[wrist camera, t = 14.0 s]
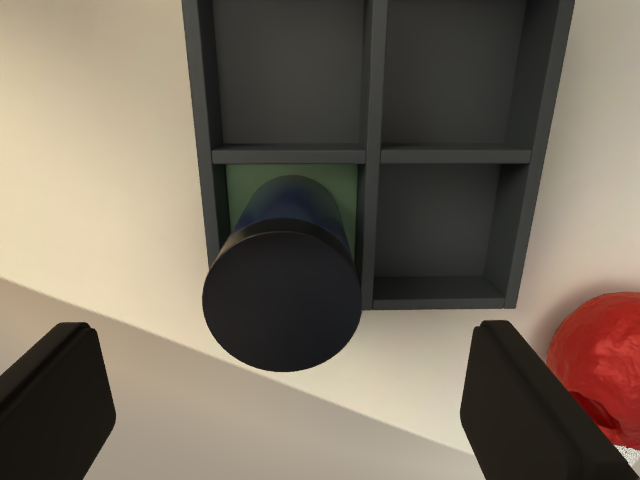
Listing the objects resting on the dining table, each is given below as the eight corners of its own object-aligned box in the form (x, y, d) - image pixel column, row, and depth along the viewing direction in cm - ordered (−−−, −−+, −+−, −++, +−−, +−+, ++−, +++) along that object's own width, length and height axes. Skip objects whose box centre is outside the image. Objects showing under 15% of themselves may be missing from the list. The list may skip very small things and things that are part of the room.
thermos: (341, 174, 22) (366, 229, 13) (339, 265, 24) (359, 371, 15) (241, 174, 22) (193, 231, 13) (247, 266, 24) (209, 374, 15)
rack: (538, -24, 20) (585, -49, 17) (488, 281, 26) (515, 308, 22) (198, -28, 19) (175, -55, 16) (225, 284, 25) (213, 312, 22)
